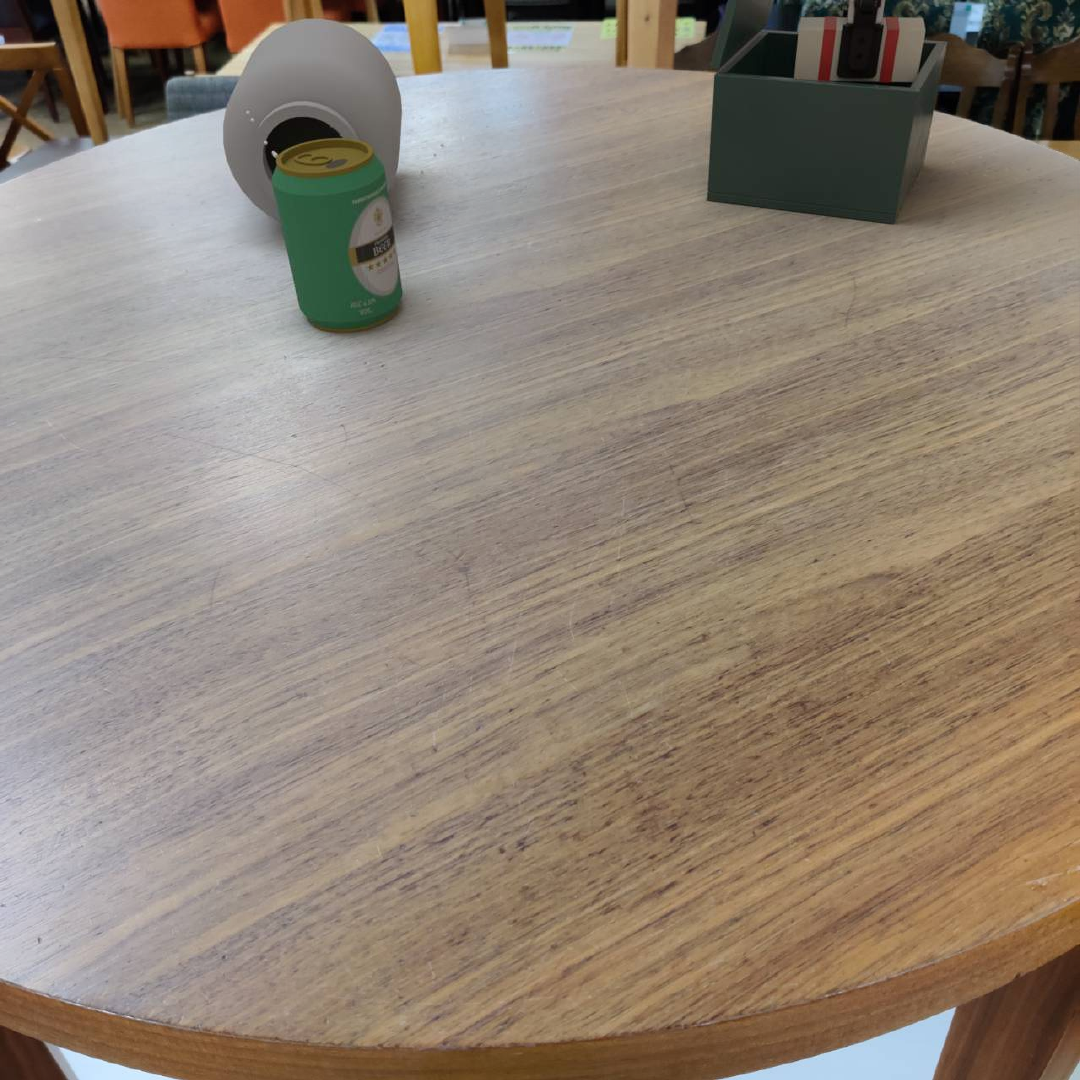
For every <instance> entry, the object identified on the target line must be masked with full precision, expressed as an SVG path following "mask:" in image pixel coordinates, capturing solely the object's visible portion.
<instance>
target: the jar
mask: <svg viewBox="0 0 1080 1080" xmlns="http://www.w3.org/2000/svg"><path fill="white" fill-rule="evenodd" d="M402 120H403V105H402V96H401V91H400V88H399V84H398V81H397V78H396V75H395V73H394V71H393V68H392V67H391V65H390V63H389V61H388V60H387V58H386V57H385V55H384V54H383V53H382V51H381V50H380V49H379V47H378V46H376V45H375V44H374V43H373V42H372V41H371V40H370V39H369V38H368V37H367V36H366V35H364V34H362V33H361V32H359V31H358V30H356V29H354V28H353V27H351V26H349V25H347V24H343V23H342V22H339V21H336V20H330V19H325V18H320V17H319V18H317V17H316V18H301V19H298V20H294V21H290V22H287V23H285V24H283V25H281V26H279V27H277V28H275V29H274V30H272V31H271V32H270V33H269V34H267V35H266V36H265V37H264V38H263V39H262V40H261V41H259V43H258V44H257V45H256V47H255V48H254V50H253V51H252V53H251V54H250V56H249V58H248V60H247V62H246V64H245V66H244V68H243V70H242V72H241V74H240V76H239V78H238V80H237V82H236V84H235V87H234V88H233V90H232V93H231V94H230V97H229V99H228V102H227V104H226V107H225V112H224V118H223V123H222V144H223V145H222V146H223V149H224V155H225V158H226V163H227V165H228V167H229V171H230V172H231V175H232V177H233V179H234V180H235V182H236V184H237V186H238V187H239V188H240V190H241V191H242V193H243V194H244V195H245V196H246V197H247V198H248V199H249V200H250V201H251V203H252V204H253V205H254V206H256V207H257V208H258V209H259V210H261V212H263V213H264V214H266V215H267V216H268V217H270V218H272V219H274V220H276V221H278V222H280V218H279V213H278V209H277V204H276V200H275V195H274V191H273V186H272V177H273V174H274V171H275V168H276V166H277V164H276V158H277V156H278V155H279V154H280V153H282V152H283V151H284V150H286V149H288V148H290V147H292V146H295V145H298V144H301V143H305V142H309V141H314V140H320V139H331V138H347V139H355V140H360V141H363V142H366V143H368V144H369V145H371V147H372V148H373V153H374V154H375V155H376V156H377V158H378V159H379V160H380V161H381V163H382V164H383V165H384V169H385V176H386V183H387V190H388V193H389V191H390V190H391V188H392V186H393V184H394V181H395V178H396V176H397V175H396V174H397V172H398V168H399V160H400V150H401V134H402ZM440 147H442V148H443V147H445V145H444V143H440ZM433 157H437V153H433ZM424 173H425V171H424V170H421V171H420V174H422V175H424ZM424 186H425V184H424V183H421V184H420V187H422V188H423V187H424Z"/></svg>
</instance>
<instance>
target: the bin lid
mask: <svg viewBox="0 0 1080 1080" xmlns="http://www.w3.org/2000/svg"><path fill="white" fill-rule="evenodd" d="M774 2H775V0H727V3H726V6H725V10H724V15H723V18H722V21H721V25H720V28H719V32H718V36H717V39H716V43H715V47H714V51H713V54H712V57H711V58H712V59H711V62H710V66H709V67H710V68H711V69H715V70H717V71H719V70H720V69H721V68H722V67H723V66H724V65H725V64H726V63H727V62H728V61H729V60H730V59H731V58H733V57H734V56H735V55H736V54H737V53H738V52H739V51H740V50H741V49H742V48H743V47H744V46H745V45H747V44H748V43H749V42H750V41H751V40H752V39H753V38H754V37H755V36H756V35H757V34H758V33H759V32H761V31H762V30H764V29H765V28H766V26H768V22H769V19H770V15H771V12H772V9H773V6H774Z"/></svg>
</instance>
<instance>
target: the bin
mask: <svg viewBox="0 0 1080 1080" xmlns="http://www.w3.org/2000/svg"><path fill="white" fill-rule="evenodd" d="M798 34H799V31H787V30H786V31H785V30H772V29H762V30H761V31H760V32H759V33H758V34H757V35H756V36H754V37H753V38H752V39H751V40H750V41H749V42H748V43H747V44H746V45H745V46H744V47H743V48H742V49H740V50H739V51H738V52H737V53H736V54H735V55H734V56H733V57H732V58H731V59H730V60H729V61H728V62H726V63H725V64H724V65H723V66H722V67H721V68H720V69H719V70H717V72H715V73H714V75H713V89H712V103H711V105H712V106H711V123H710V138H709V154H708V155H709V156H708V173H707V174H708V175H707V192H706V200H707V201H712V202H719V203H726V204H735V205H740V206H741V205H742V206H749V207H759V208H765V209H773V210H774V209H775V210H780V211H789V212H797V213H805V214H811V215H821V216H827V217H829V216H830V217H836V218H845V219H852V220H859V221H867V222H875V223H883V224H891V225H895V223H896V221H897V219H898V217H899V215H900V213H901V211H902V209H903V207H904V205H905V203H906V201H907V199H908V197H909V195H910V193H911V191H912V188H913V186H914V185H915V182H916V180H917V178H918V176H919V174H920V172H921V170H922V168H923V166H924V164H925V159H926V153H927V148H928V142H929V137H930V133H931V129H932V128H931V127H932V122H933V118H934V111H935V108H936V102H937V96H938V92H939V86H940V81H941V76H942V70H943V66H944V60H945V55H946V51H947V45H948V42H947V41H945V40H943V41H941V40H929V39H928V40H927V39H924V42H923V47H922V53H921V58H920V64H919V69H918V75H917V77H916V79H915V80H914V82H891V83H886V82H873V81H820V80H808V79H796V78H794V72H795V62H796V53H797V43H798Z"/></svg>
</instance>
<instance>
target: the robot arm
mask: <svg viewBox="0 0 1080 1080" xmlns="http://www.w3.org/2000/svg"><path fill="white" fill-rule="evenodd" d="M846 1H847V2H846V9H843V10H842V17H847V23H846V24H843V28H842V36H841V43H840V51H839V59H838V66H837V76H838V77H839V78H874V77H875V76H876V73H877V67H878V61H879V54H880V48H881V41H882V35H883V28H884V25H882V19H883V18H884V10H885V5H886V0H846Z"/></svg>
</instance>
